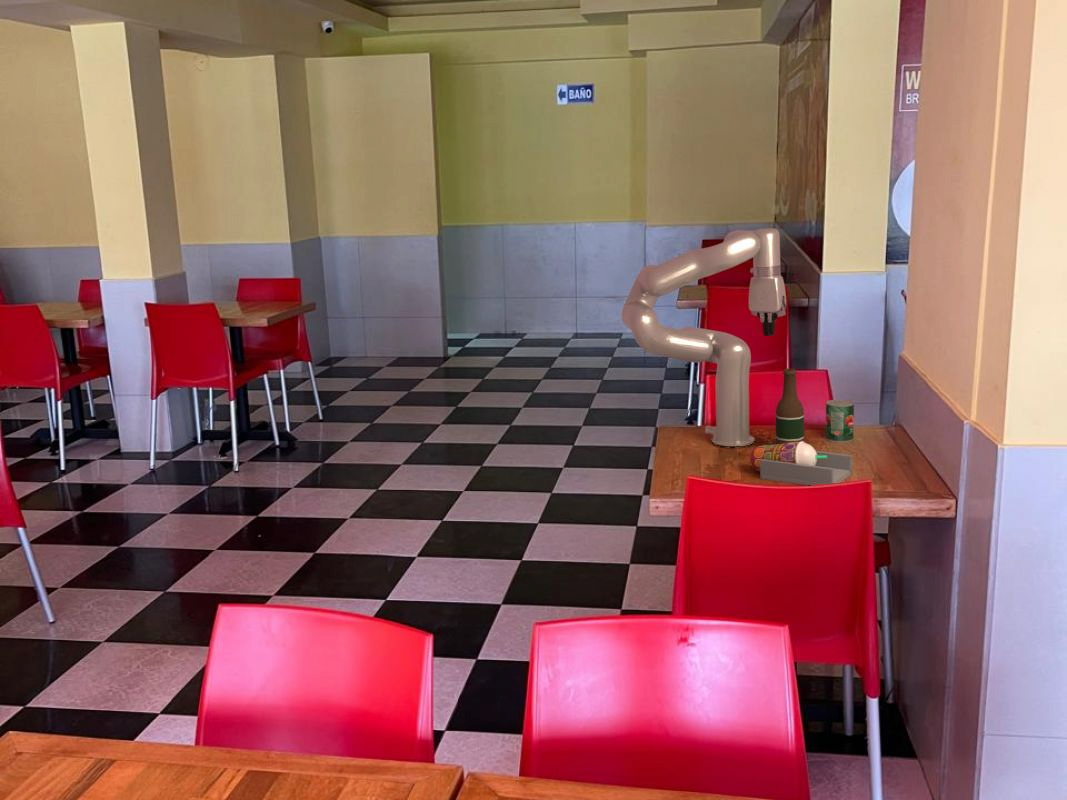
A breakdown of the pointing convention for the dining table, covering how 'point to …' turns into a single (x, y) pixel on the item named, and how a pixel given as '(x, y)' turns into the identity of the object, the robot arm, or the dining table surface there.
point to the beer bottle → (789, 412)
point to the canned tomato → (839, 420)
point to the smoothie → (785, 454)
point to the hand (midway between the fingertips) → (768, 335)
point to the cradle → (809, 470)
